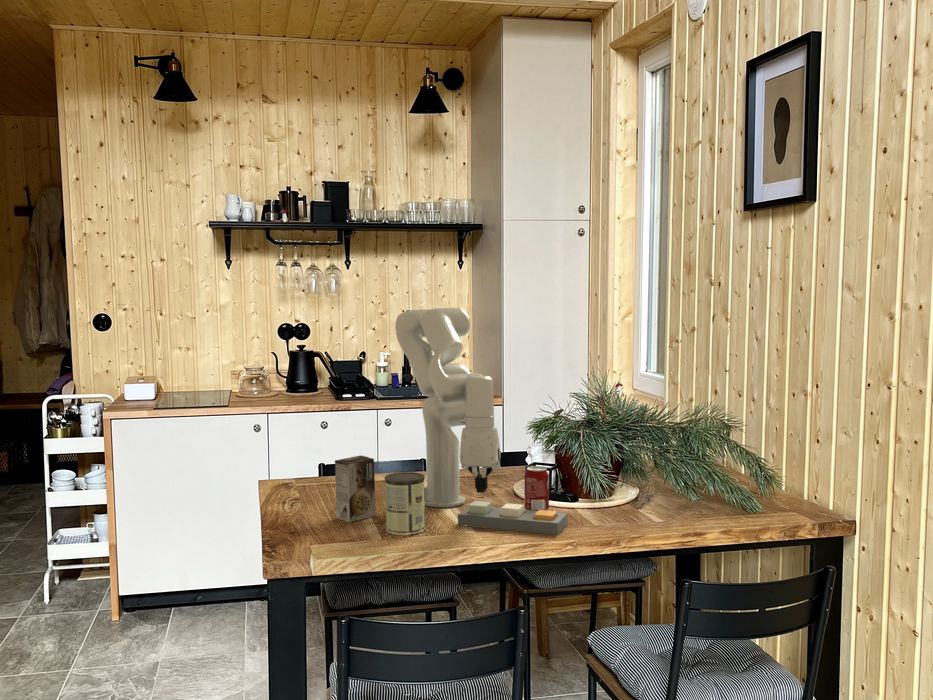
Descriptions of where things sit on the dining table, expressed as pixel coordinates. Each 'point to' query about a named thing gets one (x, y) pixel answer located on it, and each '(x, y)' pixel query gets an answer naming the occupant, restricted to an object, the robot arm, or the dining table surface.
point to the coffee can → (405, 503)
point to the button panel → (514, 521)
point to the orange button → (545, 515)
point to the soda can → (536, 488)
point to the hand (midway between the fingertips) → (481, 491)
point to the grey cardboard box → (355, 488)
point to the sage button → (480, 507)
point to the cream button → (512, 510)
